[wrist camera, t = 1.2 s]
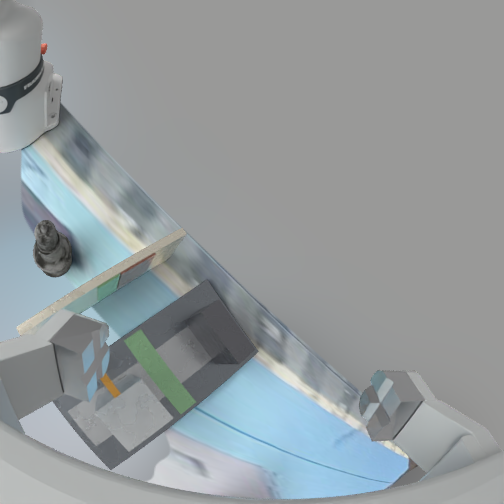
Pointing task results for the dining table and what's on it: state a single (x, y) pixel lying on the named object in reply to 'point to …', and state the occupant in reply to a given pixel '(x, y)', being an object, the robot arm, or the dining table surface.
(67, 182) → the dining table surface
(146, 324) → the base
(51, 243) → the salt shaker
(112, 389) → the brushed steel slab
